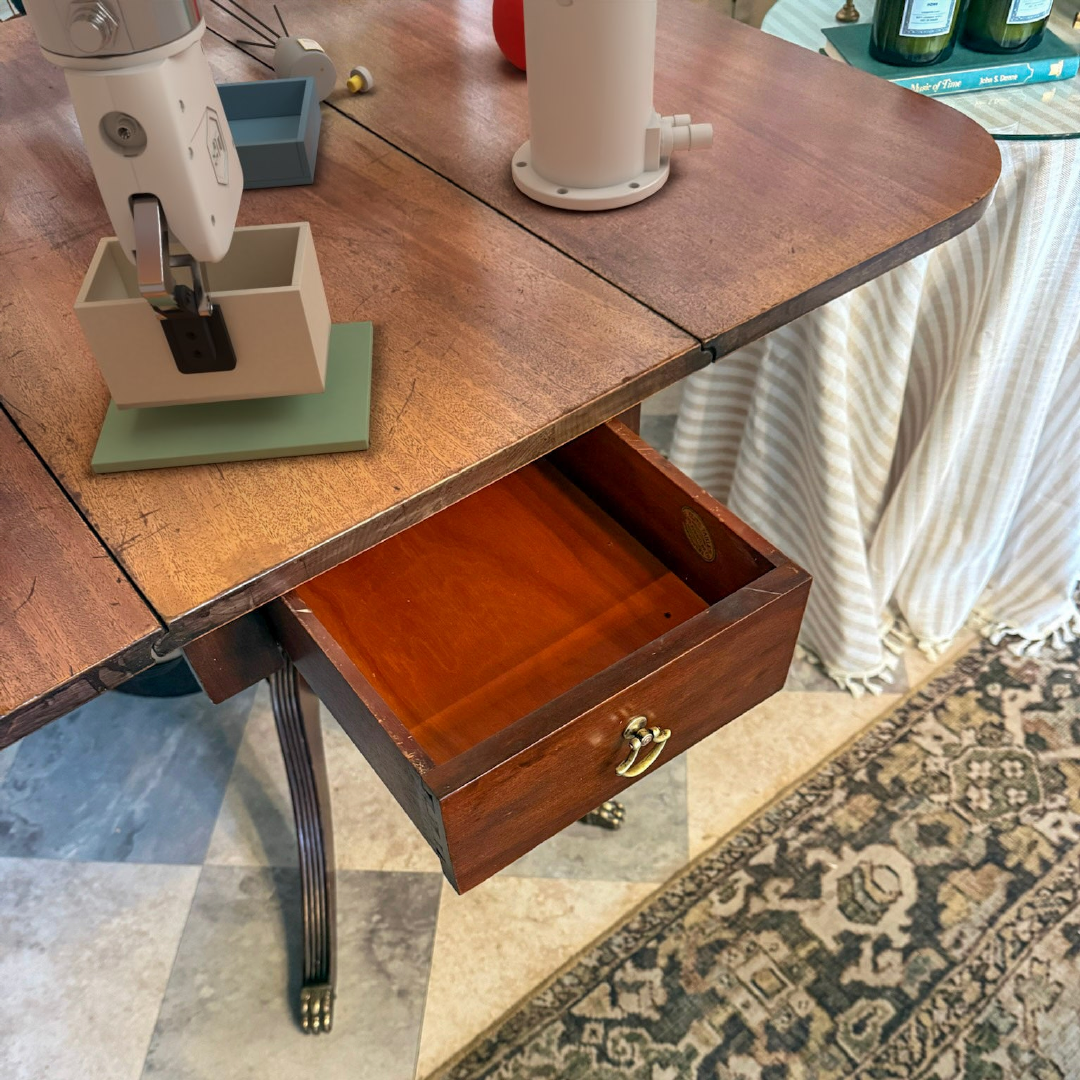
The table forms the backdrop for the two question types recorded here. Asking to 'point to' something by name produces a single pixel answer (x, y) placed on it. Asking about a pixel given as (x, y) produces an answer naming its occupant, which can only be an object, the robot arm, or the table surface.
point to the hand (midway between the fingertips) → (218, 326)
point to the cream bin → (249, 312)
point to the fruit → (510, 30)
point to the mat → (250, 419)
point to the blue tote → (274, 129)
